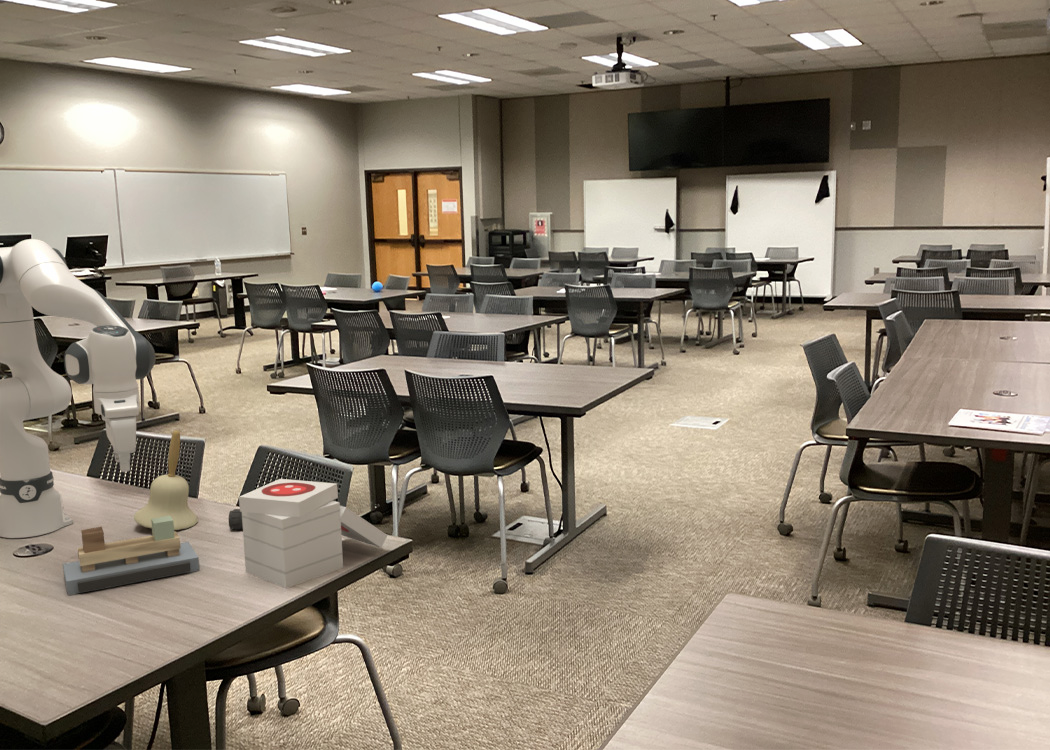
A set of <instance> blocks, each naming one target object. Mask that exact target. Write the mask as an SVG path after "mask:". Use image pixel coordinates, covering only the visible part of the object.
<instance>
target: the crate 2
mask: <svg viewBox="0 0 1050 750" xmlns="http://www.w3.org/2000/svg"><path fill="white" fill-rule="evenodd" d="M151 523H152V528H151V533H152V535H153V538H154V540H155V541H159V540H165V539H171V538H175V536H174V532H175V530H174V524H173V519H172V518H171V516H165V517H159V518H153V519H151ZM152 535H151V536H152Z"/></svg>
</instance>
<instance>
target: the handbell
mask: <svg viewBox="0 0 1050 750" xmlns="http://www.w3.org/2000/svg"><path fill="white" fill-rule="evenodd" d="M180 450H181V432H180V431H179V430H176V429H175V430H173V432H172V433H171V439H170V443H169V449H168V455H167V458H168V460H167V464H168V466H167V467H168V474H163V475H159V476H157V477H156V478H155V479H154V480H153V481H152V482H151V484H150V488H149V499H148V501H147V503H146V504H145V505H144V506H143V507H142V508H140V509H139V510H138V511H137V512H135V513H134V515H133V521H135V522H136V524H138V525H140V526H142V527H143V528H149V529H152V523H151V519H153V518H159V517H165V516H171V518H172V519H173V524H174V531H181V530H186V529H188V528H189V529H190V528H192V527H194V526H195V525H197V523H198V522H199V519H198V515H197V514H196V513H195V512H194V511H193V510H192V509H191V508H190V506H189V504H188V499H189V492H190V488H189V486H190V485H189V483H188V481H187V480H186V479H185V478H184V477H182V476H180V475H177V474H176V469H177V466H178V463H179V457H180Z"/></svg>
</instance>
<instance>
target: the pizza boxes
mask: <svg viewBox="0 0 1050 750" xmlns="http://www.w3.org/2000/svg"><path fill="white" fill-rule="evenodd" d="M338 498H339V493H338V483H333V482H324V481H323V482H321V481H311V480H309V481H308V480H300V479H299V480H298V479H288V478H287V479H285V478H279V479H277V480H274V481H272V482H270V483H267V484H266V485H263V486H260V487H258V488H256V489H253V490H252V491H250V492H247V493H244V494H243V495H240V496H238V502H239V503H238V504H239V509H240V511H241V512H242V523H243V529H242V535H243V537H242V539H243V550H244V562H245V564H244V566H245V567H244V568H245V573H247V574H248V575H252V576H255V577H256V578H260V579H261V580H265V581H267V582H270V583H272V584H274V585H277V586H279V587H282V588H284V589H287V588H291V587H294V586H297V585H299V584H302V583H305V582H308V581H310V580H311V581H312V580H313V579H316V578H318V577H321V576H325V575H327V574H329V573H332V572H335V571H338V570H340V569H343V568H344V561H343V557H344V556H343V541H342V536H343V537H346V538H350V539H352V540H355V541H358V542H363V543H366V544H368V545H371V546H374V547H377V548H382V547H383V545H384V543H385V541H386V540H387V537H388V534H386V533H385V532H384V531H382V530H380V529H379V528H377V527H376V526H374V525H373V524H372V523H370V522H368V521H367V520H366V519H364V518H363V517H361V516H360V515H358V514H357V513H355V512H353V510H351V509H350V508H348V507H346V506H344V505H341V503H340V501H336V499H338Z"/></svg>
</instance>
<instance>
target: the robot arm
mask: <svg viewBox="0 0 1050 750" xmlns="http://www.w3.org/2000/svg"><path fill="white" fill-rule="evenodd" d="M65 258H66V257H65V256H64V254H62V252H61V251H60V250H59V249H57V248H55V247H51V246H50V245H49V244H48V243H47V242H46V241H44V240H41V239H37V238H29V239H24V240H21V241H19V242H18V243H16V244H14V245H13V246H8V247H0V363H1V364H4V365H6V366H7V367H8V368H9V370H10V372H11V375H12V377H8V378H2V379H1V378H0V493H1V494H0V538H1V537H2V538H7V539H20V538H30V537H36V536H37V537H38V536H41V535H45V534H49V533H52V532H55V531H58V530H60V529H61V528H63V527H67V526H69V525H72V524H74V520H73V518H71V517H70V516H69V515H67V514H66V513H65V512H64V506H63V505H64V504H63V498H62V493H61V492H60V491H58V490H57V489H56V488H54V486H55V483H54V480H55V479H54V475H53V471H51V464H50V456H49V455H50V454H49V453H50V452H49V447H48V443H47V442H46V441H45V440H44V439H43V438H42V437H40V436H39V435H35V434H33V433H29V432H27V431H26V430H25V427H24V421H29V420H34V419H38V418H39V419H40V418H45V417H49V416H52V415H55V414H57V413H60V412H62V411H64V410H66V409H68V407H69V405H70V403H71V402H72V393H73V392H72V388H71V385H70V383H69V381H68V380H67V379H66V378H65V377H63V375H61V374H59V373H57V372H56V371H54V370H53V369H52V368H51V367H50V366H49V365H48V364H47V363H46V361H45V360H44V358H43V356H42V354H41V352H40V349H39V345H38V341H37V335H36V334H37V333H36V328H35V327H36V326H35V320H34V319H35V318H34V313H33V312H34V311H33V309H34V310H35V311H37V312H39V313H41V314H44V315H46V316H49V317H56V318H68V319H74V320H80V321H84V322H88V323H89V324H93V325H94V326H95V327H92V329H91V330H90V331H89V335H88V336H86V337H85V338H83V339H82V340H79V341H76V342H72V343H70V345H69V346H68V348H67V349H66V350H65V353H64V354H63V365H64V371H65V375H66V376H67V377H68V378H69V379H70V380H71V381H73V382H75V383H76V384H77V385H86V386H87V385H93V387H92V396H93V405H94V408H93V409H94V413H95V414H97V415H98V414H99V415H101V419H102V421H105V433H106V437H107V439H108V440H109V442H110V445H111V446H112V448H113V449H112V450H113V453H114V460H115V462H117V463H119V469H120V471H121V472H122V473H125V472H127V473H128V472H130V471H131V465H130V463H131V454H134V453H135V452H136V449H137V447H136V446H137V416H139V410H140V409H141V403H140V392H139V383H138V382H137V381H138V380H144V379H145V378H146V377H147V376H148V375H149V374H150V373H151V371H152V370H153V368H154V366H155V364H156V358H157V357H156V353H155V352H156V351H155V349H154V347H153V345H152V343H150V341H149V340H148V339H147V338H146V337H145V336H143V335H142V334H141V333H139V332H138V331H137V330H135V328H133V326H131V324H130V323H129V322H128V321H127V320H126V318H124V317H123V315H122V314H121V313H120V312H119V311H118V310H117V309H116V307H115V306H114V305H113V304H112V303H111V302H110V301H109V300H108V298H106V297H105V296H104V295H103V294H102V293H101V292H100V291H98V290H97V289H94V288H92V287H90V286H89V285H87V284H86V283H84V282H83V281H81V280H80V279H78V278H77V276H75V275H74V274H73V272H71V270H70V269H69V267H68V265H67V260H66V259H65Z"/></svg>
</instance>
